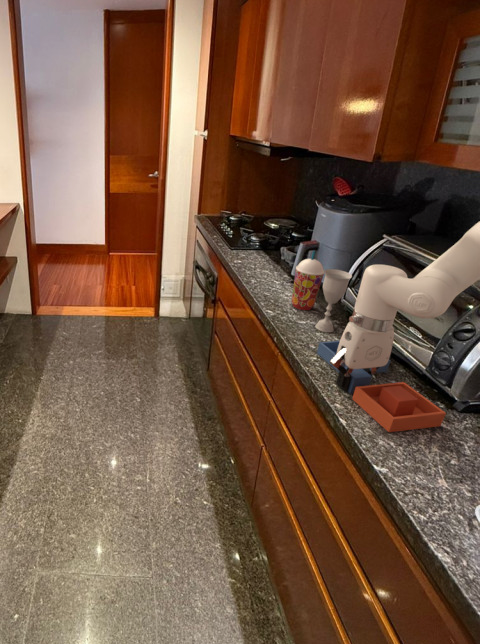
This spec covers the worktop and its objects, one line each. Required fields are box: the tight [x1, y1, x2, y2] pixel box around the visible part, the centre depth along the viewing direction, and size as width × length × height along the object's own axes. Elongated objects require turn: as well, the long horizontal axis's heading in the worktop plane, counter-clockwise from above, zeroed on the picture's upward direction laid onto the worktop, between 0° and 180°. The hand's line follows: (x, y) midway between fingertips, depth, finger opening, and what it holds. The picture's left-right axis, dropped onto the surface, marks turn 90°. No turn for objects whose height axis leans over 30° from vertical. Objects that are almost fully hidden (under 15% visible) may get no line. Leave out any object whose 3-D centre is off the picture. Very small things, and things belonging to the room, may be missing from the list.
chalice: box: [314, 268, 353, 333], centre depth 115 cm, size 7×7×18 cm
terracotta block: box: [377, 386, 418, 417], centre depth 84 cm, size 4×4×4 cm
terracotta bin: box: [351, 381, 447, 433], centre depth 84 cm, size 12×10×4 cm
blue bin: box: [316, 340, 391, 374], centre depth 101 cm, size 12×10×4 cm
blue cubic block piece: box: [345, 366, 373, 395], centre depth 92 cm, size 4×4×4 cm
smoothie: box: [291, 250, 325, 311], centre depth 127 cm, size 8×8×20 cm
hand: (352, 385), depth 93 cm, fingers closed on blue cubic block piece, 4 cm apart
